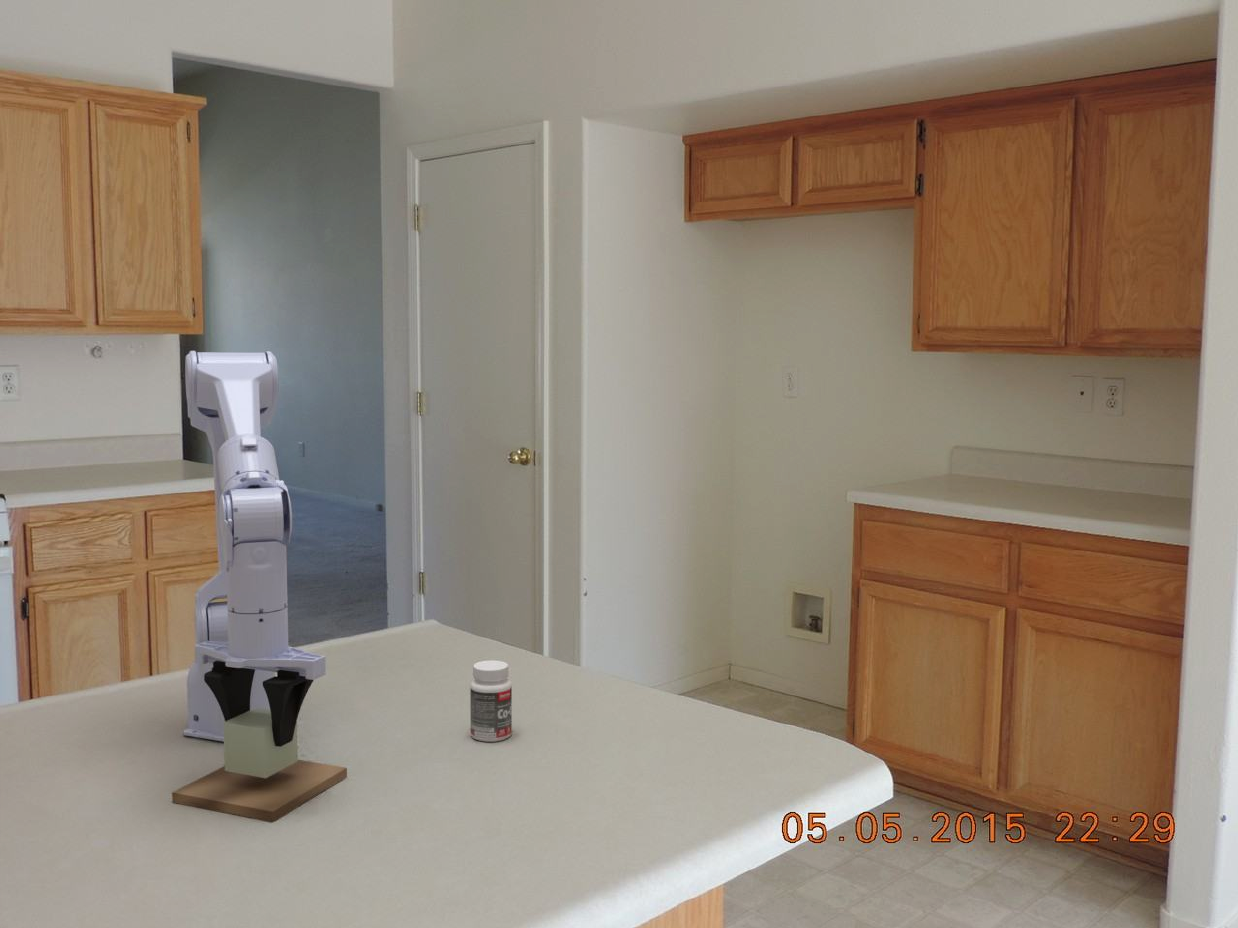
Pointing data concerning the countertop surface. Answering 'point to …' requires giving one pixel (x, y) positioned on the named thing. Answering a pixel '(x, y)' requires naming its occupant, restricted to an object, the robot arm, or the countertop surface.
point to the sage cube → (256, 745)
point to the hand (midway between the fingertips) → (261, 739)
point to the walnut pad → (260, 790)
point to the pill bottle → (491, 702)
